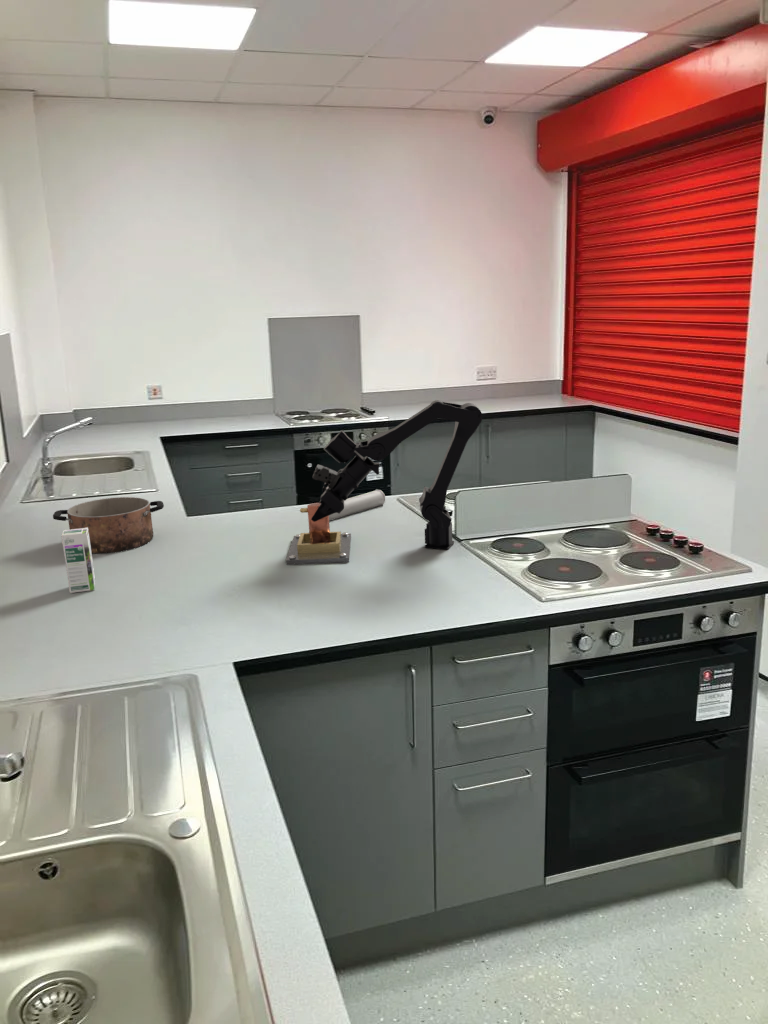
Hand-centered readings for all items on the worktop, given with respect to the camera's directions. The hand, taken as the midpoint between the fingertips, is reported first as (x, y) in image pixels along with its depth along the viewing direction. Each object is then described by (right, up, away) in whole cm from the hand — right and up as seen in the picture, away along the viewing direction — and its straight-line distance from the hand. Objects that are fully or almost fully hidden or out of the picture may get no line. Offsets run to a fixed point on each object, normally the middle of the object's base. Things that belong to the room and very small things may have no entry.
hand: (313, 517), depth 218 cm
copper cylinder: (+1, -7, +2) cm, 7 cm away
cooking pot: (-59, -8, +18) cm, 62 cm away
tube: (+9, +1, +40) cm, 41 cm away
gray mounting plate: (+2, -9, +2) cm, 9 cm away
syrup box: (-54, -17, -20) cm, 60 cm away
